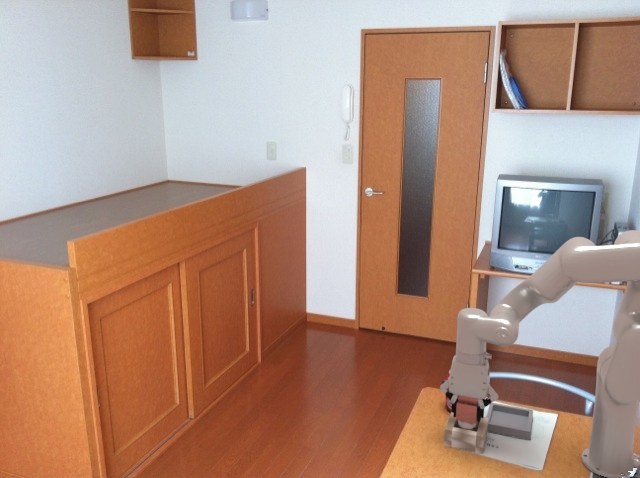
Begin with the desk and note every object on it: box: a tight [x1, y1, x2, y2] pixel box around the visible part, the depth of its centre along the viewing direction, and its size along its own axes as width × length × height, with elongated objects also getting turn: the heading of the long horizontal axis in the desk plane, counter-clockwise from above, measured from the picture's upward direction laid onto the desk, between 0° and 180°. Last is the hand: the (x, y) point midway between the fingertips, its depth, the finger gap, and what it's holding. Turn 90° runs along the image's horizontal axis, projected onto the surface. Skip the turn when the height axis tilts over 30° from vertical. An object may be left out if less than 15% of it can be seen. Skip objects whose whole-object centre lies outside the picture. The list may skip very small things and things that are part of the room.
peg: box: [456, 395, 479, 431], centre depth 157 cm, size 5×5×12 cm
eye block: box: [443, 411, 489, 455], centre depth 158 cm, size 10×10×5 cm
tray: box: [485, 402, 534, 441], centre depth 165 cm, size 12×12×2 cm
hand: (467, 416), depth 157 cm, fingers open, 5 cm apart
